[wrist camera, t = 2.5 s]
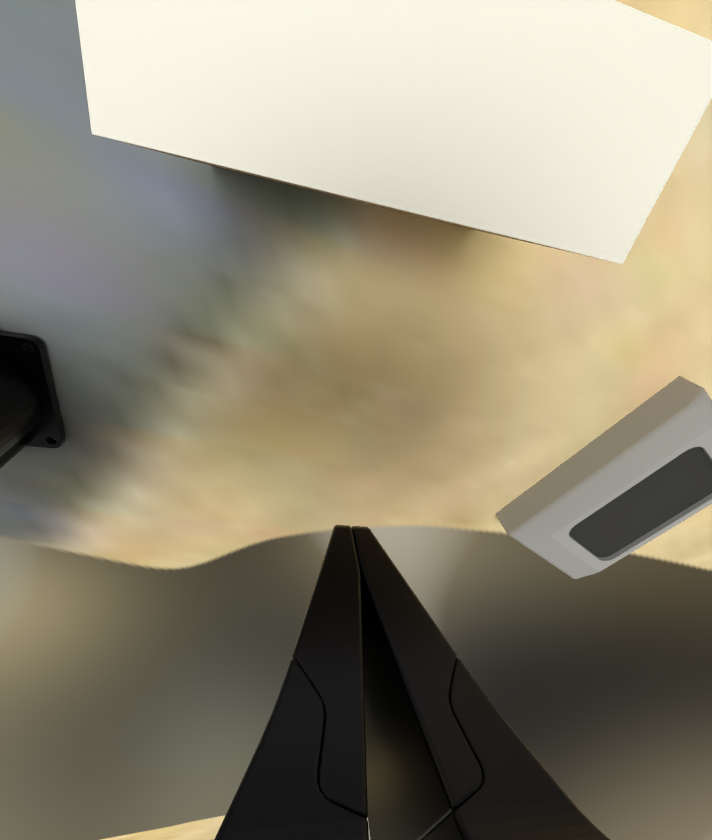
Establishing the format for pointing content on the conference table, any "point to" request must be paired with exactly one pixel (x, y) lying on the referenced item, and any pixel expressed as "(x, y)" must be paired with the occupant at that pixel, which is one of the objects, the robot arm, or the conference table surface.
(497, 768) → the robot arm
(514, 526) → the grey flat block
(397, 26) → the walnut block
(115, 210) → the conference table surface
